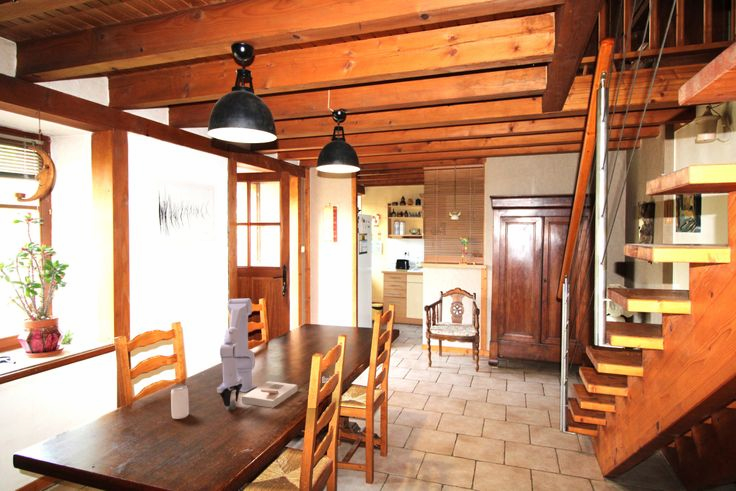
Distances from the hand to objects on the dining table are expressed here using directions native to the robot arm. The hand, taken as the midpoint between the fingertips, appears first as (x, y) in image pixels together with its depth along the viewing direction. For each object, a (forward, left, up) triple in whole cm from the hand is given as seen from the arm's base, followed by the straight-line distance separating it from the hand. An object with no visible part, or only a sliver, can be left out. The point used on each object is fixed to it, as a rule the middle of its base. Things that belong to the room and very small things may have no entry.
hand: (230, 403), depth 184 cm
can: (-15, -13, -2) cm, 20 cm away
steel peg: (0, 0, -2) cm, 2 cm away
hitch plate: (+9, +16, -2) cm, 18 cm away
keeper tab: (+12, +11, +2) cm, 16 cm away
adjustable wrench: (+25, +34, -3) cm, 42 cm away
